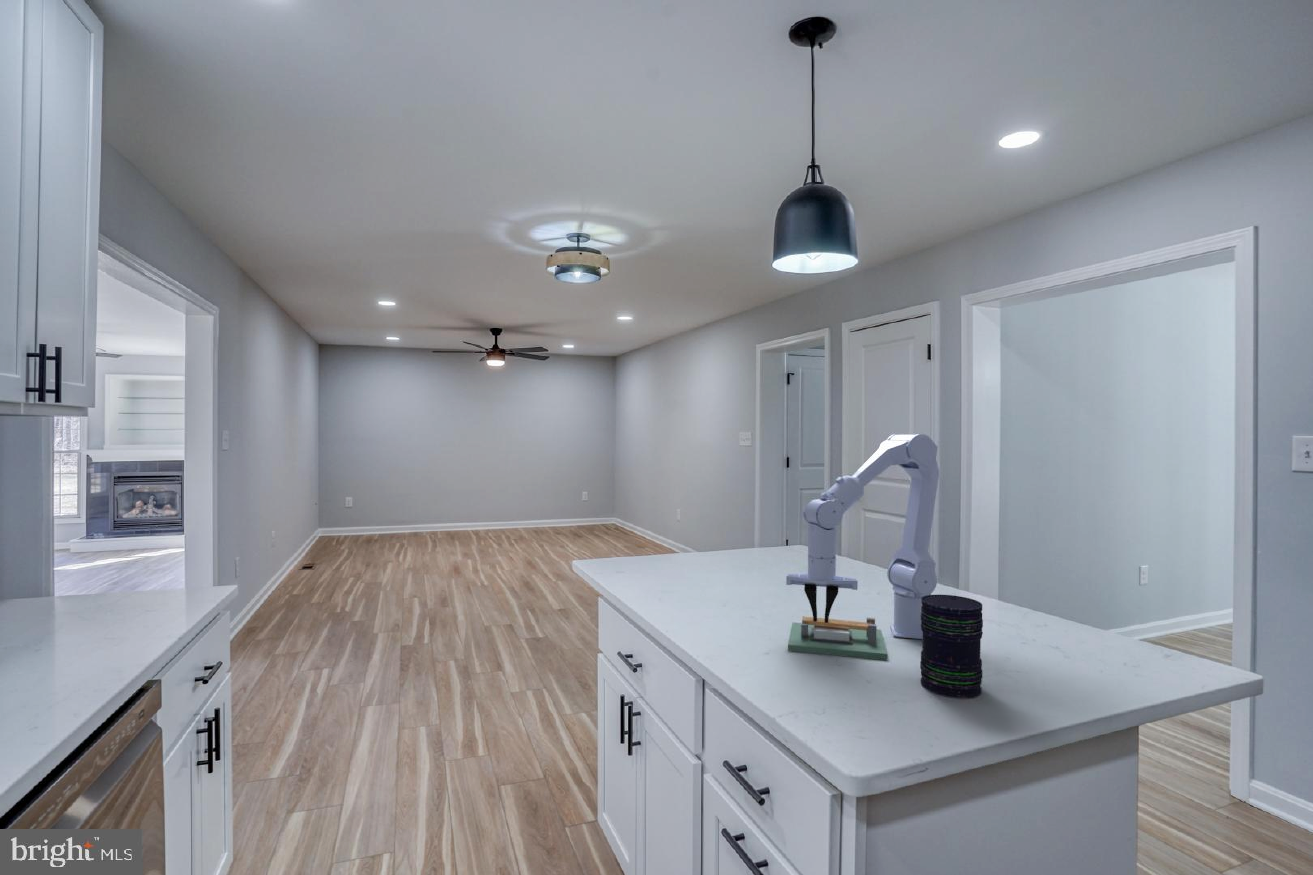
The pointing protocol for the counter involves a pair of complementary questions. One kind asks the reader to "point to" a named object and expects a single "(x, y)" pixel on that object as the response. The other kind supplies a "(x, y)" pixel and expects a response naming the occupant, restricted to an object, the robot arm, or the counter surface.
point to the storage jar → (951, 646)
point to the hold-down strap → (836, 623)
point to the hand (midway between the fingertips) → (820, 620)
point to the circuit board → (838, 641)
